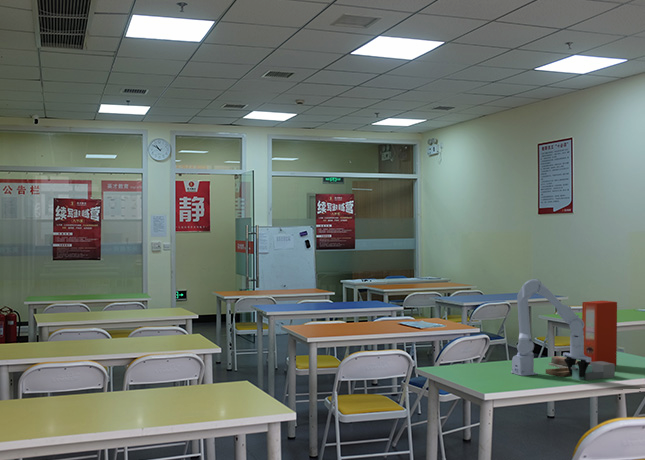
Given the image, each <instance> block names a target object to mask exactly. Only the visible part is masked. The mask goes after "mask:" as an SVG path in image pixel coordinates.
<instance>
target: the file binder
mask: <svg viewBox="0 0 645 460" xmlns="http://www.w3.org/2000/svg"><path fill="white" fill-rule="evenodd" d="M581 308H582V311H581V312H582V316H581V319H582V320H583V322H584V328H583V331H584V334H583V335H584V355H585V356H587V357H591V362H597V361H603V362H608V363H613V364H615V367H617V363H618V361H617V357H618V356H617V352H618V349H617V348H618V347H617V345H618V343H617V342H618V341H617V340H618V337H617V336H618V302H617V301H612V300H611V301H610V300H594V301H593V300H591V301H582V307H581ZM589 365H590V364H589Z"/></svg>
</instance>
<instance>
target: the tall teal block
mask: <svg viewBox="0 0 645 460" xmlns="http://www.w3.org/2000/svg"><path fill="white" fill-rule="evenodd" d="M571 369H572V376H571V378H572V379H574V380H577V381H582V380H585V376H584V377H580V376H579V366H578V365H572V367H571ZM591 372H592V365H588V367H587V369H586V372H585V373H591Z"/></svg>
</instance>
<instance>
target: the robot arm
mask: <svg viewBox="0 0 645 460" xmlns="http://www.w3.org/2000/svg"><path fill="white" fill-rule="evenodd" d="M536 293H537V295H538V296H542V297H544V298H545V299H546V300H547V301H548V302H549V303H550V304H551V305H552V306H553V307H554V308H555V309H556V313H557V316H559V317H560V318H561V319H562V320H563V321H564V322H565V323H566V324H567V325H568V326H569V329H570V334H569V349H570V350H569V352H563V353H562V357H566V359H564V360H565V362H566V364H567V366H568V370H569V373H570V375H572V369H571V367H572V365H575V363H576V360H577V363H578V366H579V376H580V377H584V376H585V372H586V369H587V367H588V365H589V364H590V362H591V357H587V356H585V355H584V335H583V334H584V331H583V328H584V322H583V320H582V317H580V315H578V314H576V313H575V312H574V311H573V310H572V307H571V306H569V305H567V304H563V303H562V302H561V301H560V300H559V299H558V298H557V296H556V295H555V294H554V292H552V291H551V290H550V289H549V287H547V286H546V285H545V284H544V283H542V282H541V280H540V279H537V278H532V279H528V280H527V281H525V282H524V283H523V284H522V287H521V288H520V289H519V291H518V294H517V296H516V302H517V316H518V317H517V318H518V331H519V332H518V333H519V335H518V343H517V345H516V349H517V353H516V354H515V355H513V357H512V360H511V371H510V373H511V374H514V375H518V376H523V377H526V376H534V375H538V372H536V371H535V372H534V369H535V368H534V367H535V366H534V365H535V362H534V358H535V357H534V356H535V354H534V352H533V351H534V348H535V343H534V341H533V339H532V334H531V324H530V310H529V309H530V308H529V299H530V298H532V296H533V295H535V294H536Z"/></svg>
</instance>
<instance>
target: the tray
mask: <svg viewBox="0 0 645 460" xmlns="http://www.w3.org/2000/svg"><path fill="white" fill-rule="evenodd" d="M545 374H547V375H551V376H554V377H559V378H562V377H569V376H571V377H572V375H570V373H569V370H568V368H567V367H566V368H558V367H555V368H547V369H545Z"/></svg>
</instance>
